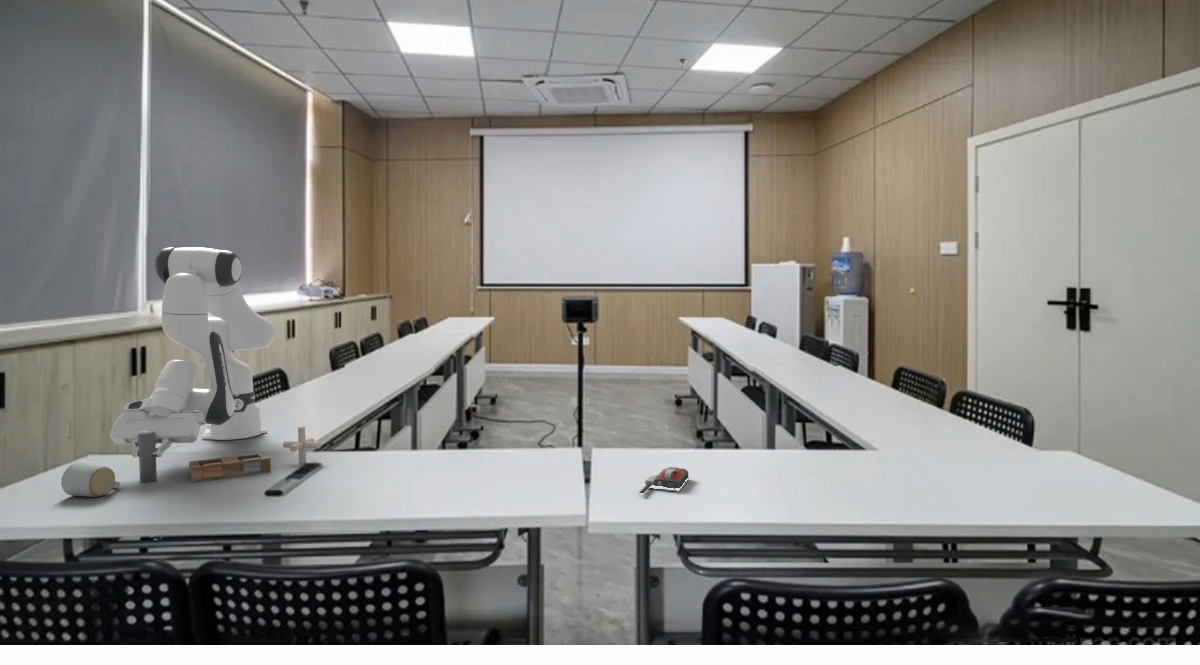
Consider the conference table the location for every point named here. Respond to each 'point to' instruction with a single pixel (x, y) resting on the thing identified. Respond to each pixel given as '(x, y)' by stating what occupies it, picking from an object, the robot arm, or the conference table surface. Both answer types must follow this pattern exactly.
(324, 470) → the conference table surface
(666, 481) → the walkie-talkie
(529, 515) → the conference table surface
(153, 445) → the tall grey block
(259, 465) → the socket strip
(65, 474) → the ceramic mug
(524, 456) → the conference table surface
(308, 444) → the pipe connector
